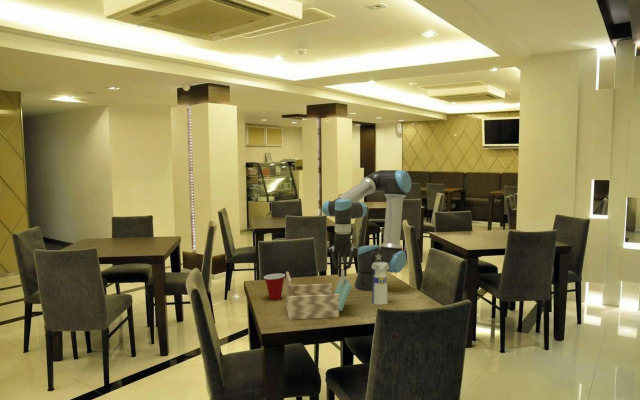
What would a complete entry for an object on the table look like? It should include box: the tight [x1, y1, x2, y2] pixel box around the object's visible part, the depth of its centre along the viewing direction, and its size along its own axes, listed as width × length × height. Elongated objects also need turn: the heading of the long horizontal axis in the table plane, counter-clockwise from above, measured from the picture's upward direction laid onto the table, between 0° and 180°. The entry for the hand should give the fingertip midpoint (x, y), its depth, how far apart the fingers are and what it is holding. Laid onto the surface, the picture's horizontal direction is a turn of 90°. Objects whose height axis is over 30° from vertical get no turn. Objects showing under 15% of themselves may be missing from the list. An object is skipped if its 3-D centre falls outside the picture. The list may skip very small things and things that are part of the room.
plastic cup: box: [263, 273, 286, 301], centre depth 237 cm, size 11×11×12 cm
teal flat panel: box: [333, 277, 352, 312], centre depth 217 cm, size 2×19×12 cm, turn 7°
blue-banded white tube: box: [371, 254, 389, 306], centre depth 229 cm, size 8×9×25 cm
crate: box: [285, 271, 340, 321], centre depth 215 cm, size 22×20×17 cm
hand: (342, 283), depth 217 cm, fingers closed
